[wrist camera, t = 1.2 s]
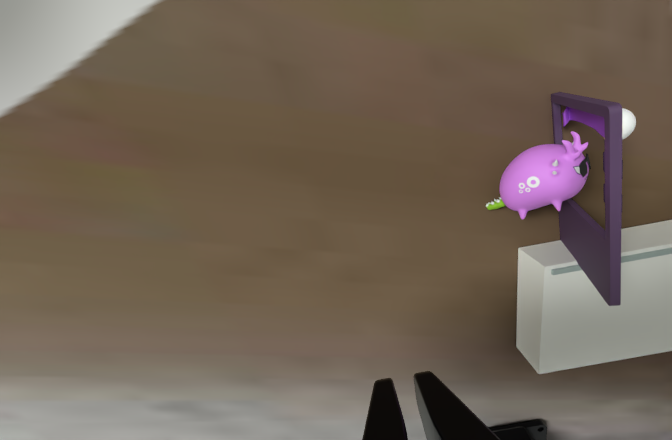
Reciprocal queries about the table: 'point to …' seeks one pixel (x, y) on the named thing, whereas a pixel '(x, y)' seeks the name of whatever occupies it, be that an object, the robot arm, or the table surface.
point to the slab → (595, 303)
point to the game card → (576, 186)
